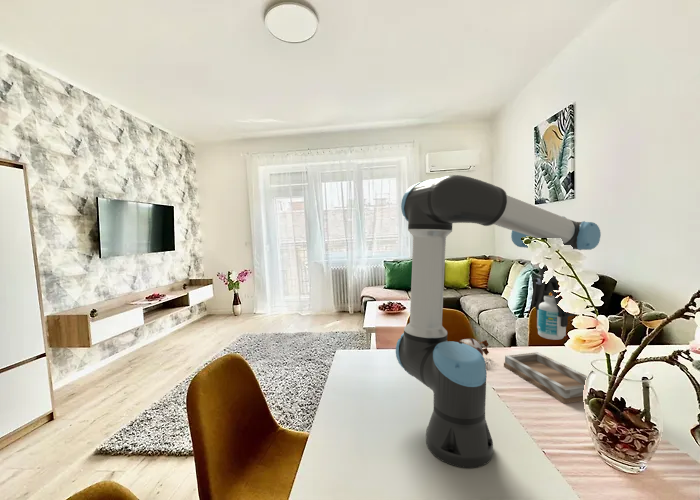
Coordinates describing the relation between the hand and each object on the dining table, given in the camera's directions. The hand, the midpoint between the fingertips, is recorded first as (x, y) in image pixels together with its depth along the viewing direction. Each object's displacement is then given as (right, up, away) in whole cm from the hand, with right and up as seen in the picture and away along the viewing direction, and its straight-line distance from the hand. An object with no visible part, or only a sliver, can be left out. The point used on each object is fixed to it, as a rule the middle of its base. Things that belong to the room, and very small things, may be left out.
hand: (550, 331), depth 108 cm
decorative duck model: (-21, -16, +20) cm, 33 cm away
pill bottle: (0, -2, 0) cm, 2 cm away
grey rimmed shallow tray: (0, -17, +1) cm, 17 cm away
